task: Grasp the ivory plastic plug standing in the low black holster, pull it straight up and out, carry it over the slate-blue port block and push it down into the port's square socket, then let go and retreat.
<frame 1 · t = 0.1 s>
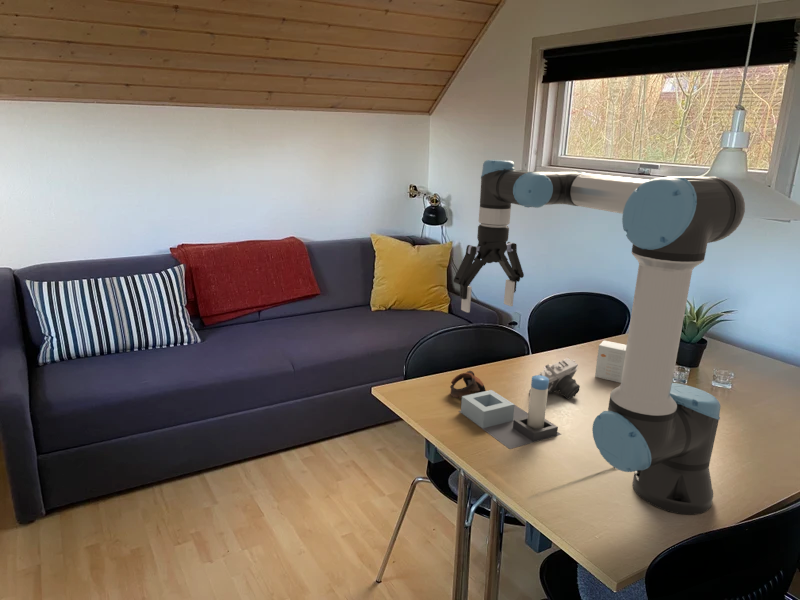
hand: (487, 308, 150), 28 cm above the table, fingers open, 13 cm apart
small box: (609, 377, 181), on the table
holster: (535, 427, 144), on the mat, point 1 cm above the table
mat: (507, 425, 149), on the table
port: (486, 416, 152), resting on mat
camera: (558, 396, 167), on the table
brown arched frame: (468, 397, 164), on the table
plug: (537, 405, 143), in the holster, point 8 cm above the table, touching mat
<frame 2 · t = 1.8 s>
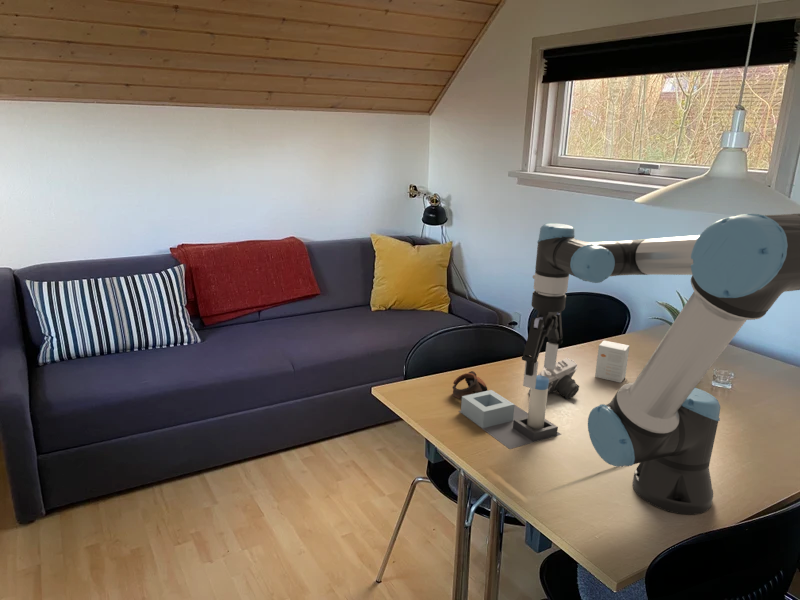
hand: (539, 377, 141), 15 cm above the table, fingers open, 13 cm apart
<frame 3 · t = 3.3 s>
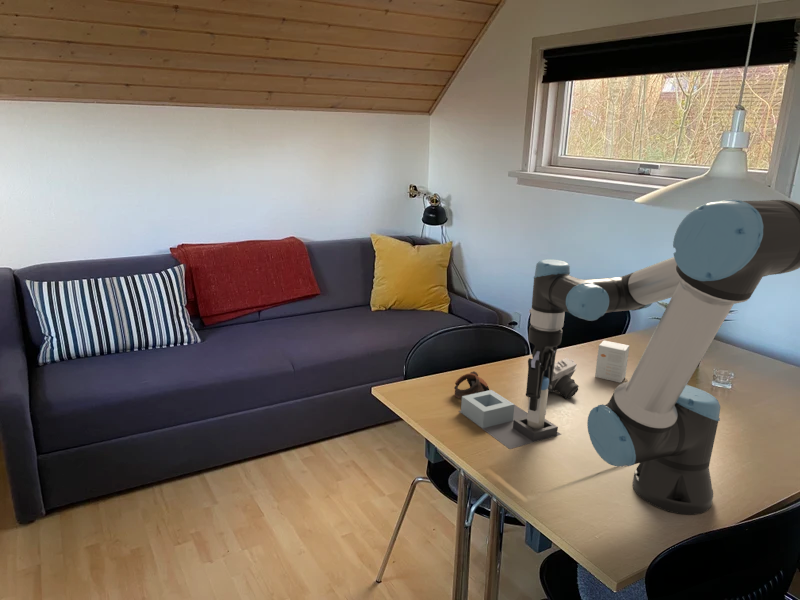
hand: (536, 417, 144), 5 cm above the table, fingers closed on plug, 4 cm apart
plug: (537, 405, 143), in the holster, point 8 cm above the table, touching gripper
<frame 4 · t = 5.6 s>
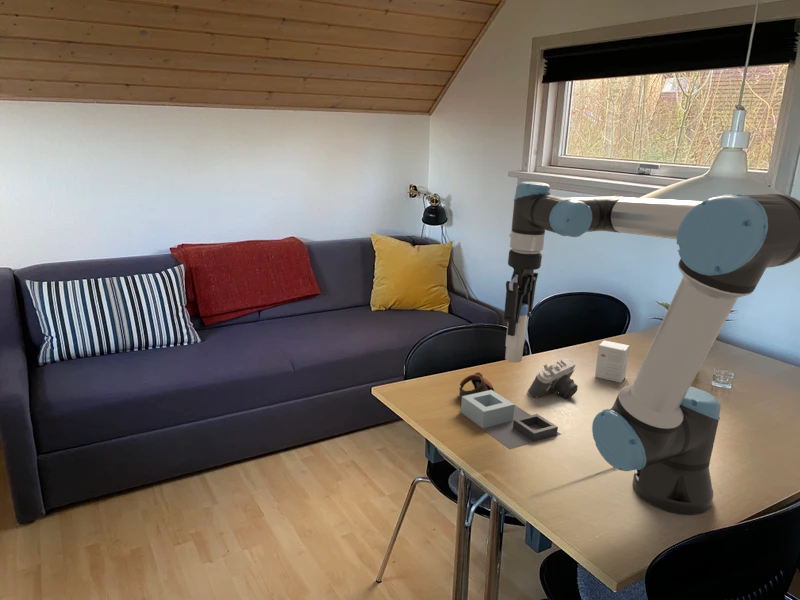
hand: (515, 344, 143), 22 cm above the table, fingers closed on plug, 4 cm apart
brown arched frame: (477, 399, 163), on the table
plug: (516, 332, 142), point 25 cm above the table, touching gripper
everything else where it was.
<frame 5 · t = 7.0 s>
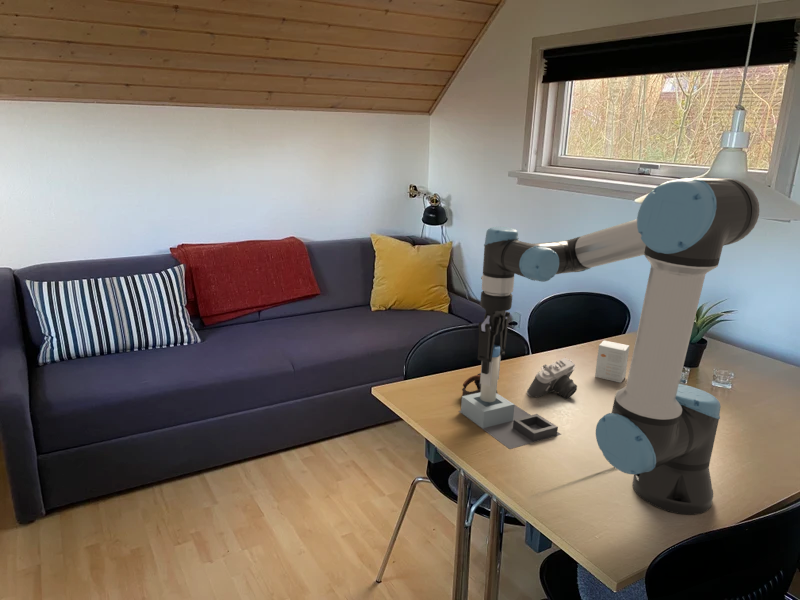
hand: (489, 381, 149), 11 cm above the table, fingers closed on plug, 4 cm apart
plug: (490, 373, 148), point 13 cm above the table, touching gripper
when the fingers open (7 cm above the table, at t = 7.9 s): plug drops 1 cm, resting on mat.
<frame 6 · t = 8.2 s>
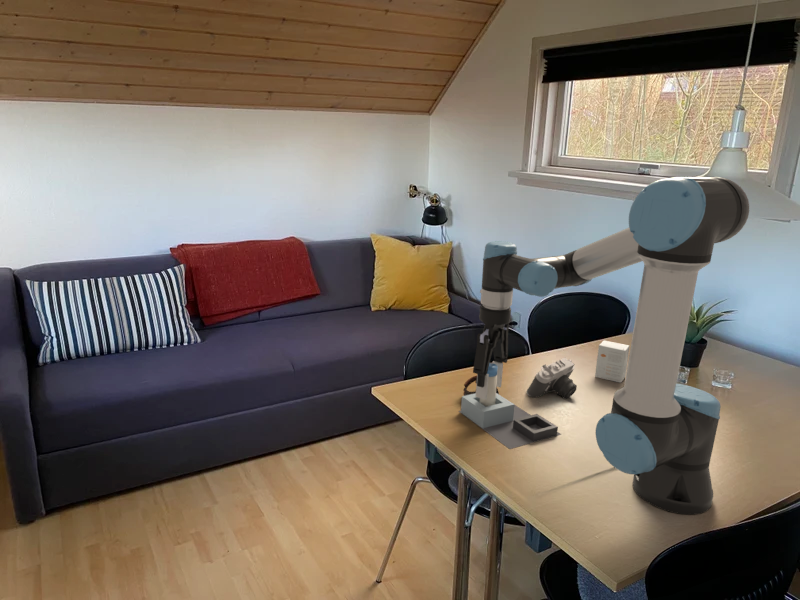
hand: (488, 391, 150), 8 cm above the table, fingers open, 8 cm apart
plug: (488, 391, 149), in the port, point 8 cm above the table, touching mat
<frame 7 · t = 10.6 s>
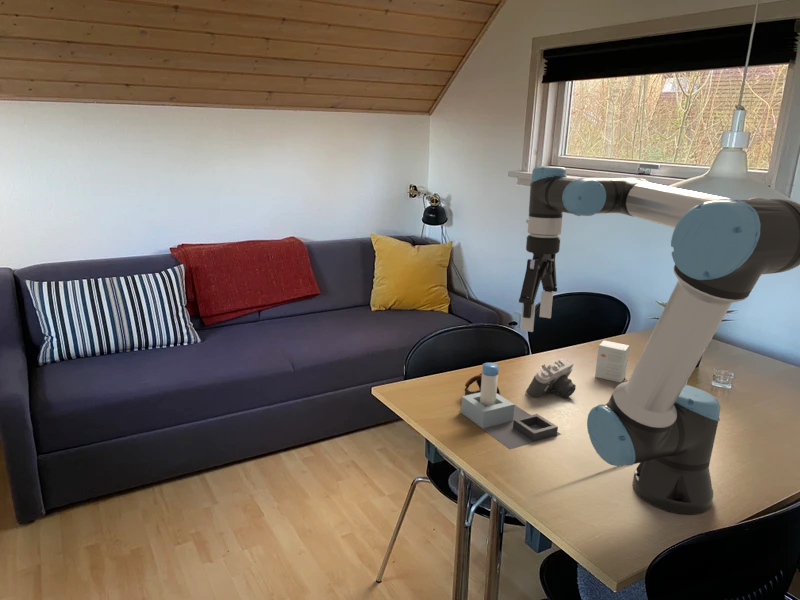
hand: (536, 323, 141), 27 cm above the table, fingers open, 13 cm apart
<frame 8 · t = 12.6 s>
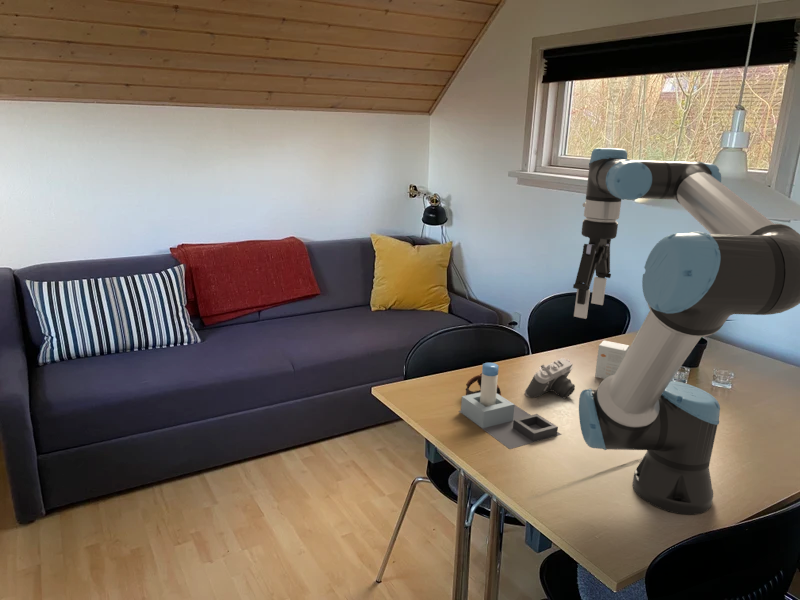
hand: (588, 310, 138), 32 cm above the table, fingers open, 13 cm apart
at the end: plug 0.0 cm off-centre on the port, point 7.0 cm above the port's base; plug tilted 0°; the gripper is holding nothing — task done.
